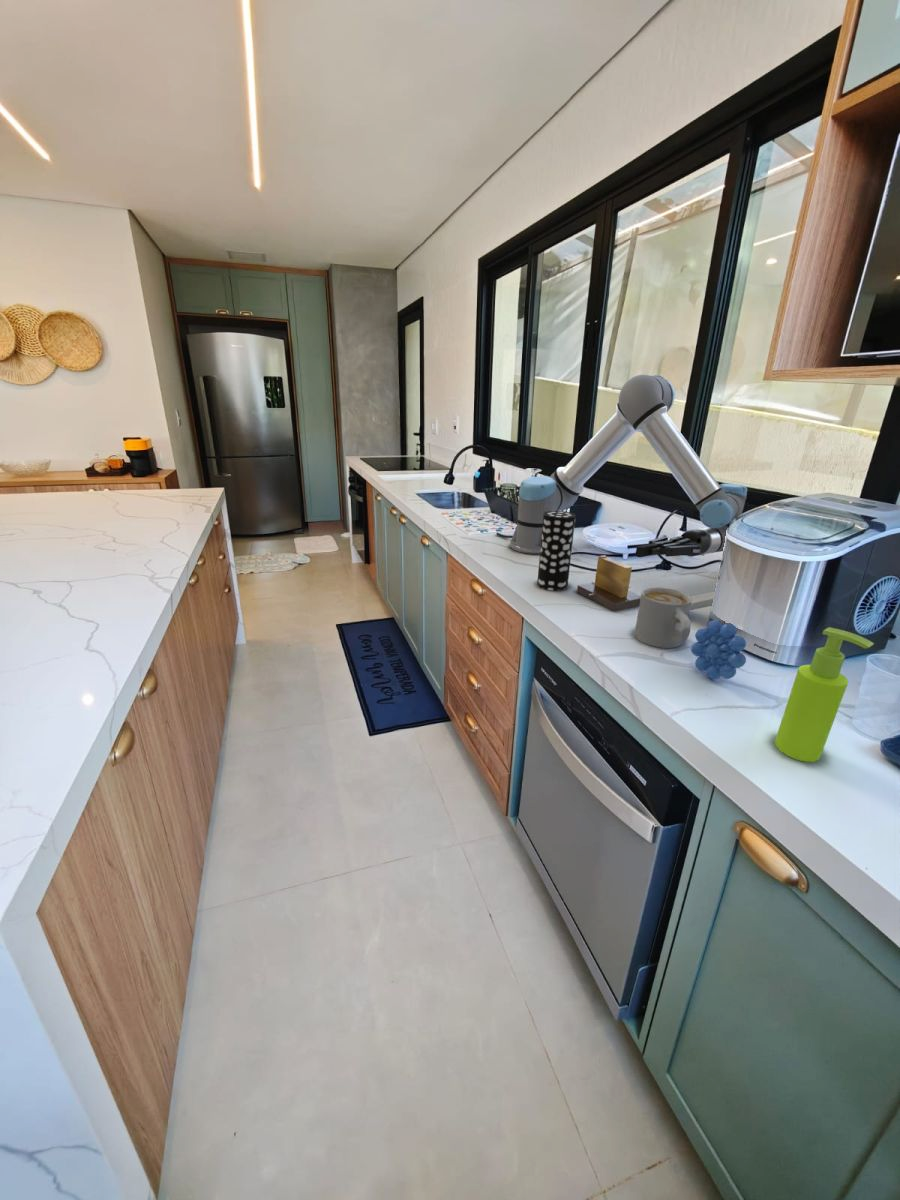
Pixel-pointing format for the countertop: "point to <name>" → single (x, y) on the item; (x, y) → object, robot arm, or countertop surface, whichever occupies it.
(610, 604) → the dark brown flat slab
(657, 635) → the coffee mug
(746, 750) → the countertop surface
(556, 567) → the white-spotted black cylinder
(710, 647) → the blue bumpy cluster
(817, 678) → the soap dispenser
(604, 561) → the golden brown rectangular block
